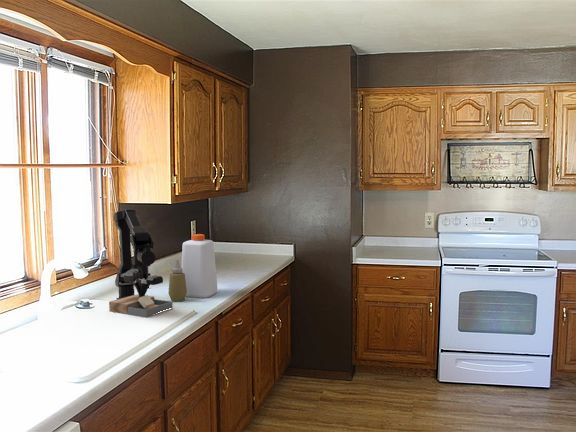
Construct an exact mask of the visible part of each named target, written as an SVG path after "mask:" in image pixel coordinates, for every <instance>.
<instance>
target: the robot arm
mask: <svg viewBox="0 0 576 432" xmlns="http://www.w3.org/2000/svg"><path fill="white" fill-rule="evenodd" d="M113 221H114V225H115V227H116V228H117V230H118V231H119V246H120V247H119V248H120V265H119V266H118V269H117V273H116V277H115V280H114V284H115V286H116V287H117V288H118V297H116V299H115V300H118V299H121V298H125V297H129V296H132V295H135V289H136V292H137V294H138V295H139V297H143V296H146V294H147V291H148V289H149V288H150V286H156V285H159V284H163V283H164V279H163V276H162V275H151V273H150V272H149V267H151V265H154V263H155V262H156V255H155V253H154V252H153V251H151V249H154V241H153V238H152V236H151V234H150V232H149V231H148V229H147V228H145V227H143V226H142V224H141V223H140V220H139V218H138V216H137V213H136V209H134V208H125V209H122V210H118V211H117V210H116V212H115V213H113ZM132 249H133V259H132ZM132 260H133V262H132Z"/></svg>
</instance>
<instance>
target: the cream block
mask: <svg viewBox="0 0 576 432" xmlns="http://www.w3.org/2000/svg"><path fill="white" fill-rule="evenodd" d="M149 296H150V295H148V294H147V295H146V294H145V296H143V297H140V298H139V300H138V301H139V302H140V304H141V305H142V306H143V307H144V308H146V307H147V306H151V305H153V304H154V302H153V301H152V299H151V298H150V297H149Z"/></svg>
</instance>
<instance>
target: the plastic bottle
mask: <svg viewBox="0 0 576 432" xmlns="http://www.w3.org/2000/svg"><path fill="white" fill-rule="evenodd" d="M205 238H206V235H205V234H203V233H202V234H201V233H197V234H195V233H193V234H192V235H191V239H190V240H186V241H184V242H183V243H182V248H181V249H182V251H181V266H180V268H183V272H182V273H184V274H185V280H186V288H187V293H186V297H185V298H194V299H206V298H210V297H212V296H213V295H215V294H217V293H218V280H217V279H218V278H217V265H216V256H215V255H216V254H215V243H214V240H212V239H211V240H210V239H205Z"/></svg>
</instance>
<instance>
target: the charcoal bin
mask: <svg viewBox="0 0 576 432" xmlns="http://www.w3.org/2000/svg"><path fill="white" fill-rule="evenodd" d="M152 301H153V302H154V304H153V305H159V306H155V307H152V308H149V309H146V308H144V307H143V306H142V305H141V304H136V305H133V306H130V307H128V314H127V315H129V316H135V317H141V318H142V317H143V318H149V317H151V316H154V314H155V315H157V314H156V313H158V312H160V311H163V310H166V309H169V308H174V307H173V305H174V304H173V302H174V301H170V300H165V299H164V300H162V299H158V298H157V299H156V298H154V299H153V300H152ZM158 314H159V313H158Z"/></svg>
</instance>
